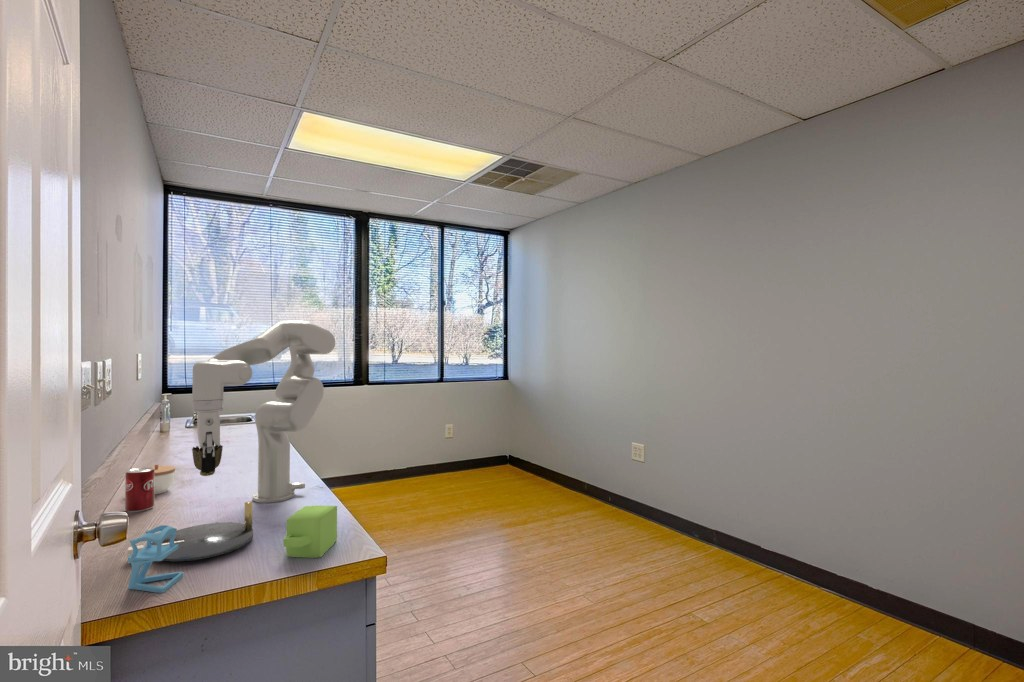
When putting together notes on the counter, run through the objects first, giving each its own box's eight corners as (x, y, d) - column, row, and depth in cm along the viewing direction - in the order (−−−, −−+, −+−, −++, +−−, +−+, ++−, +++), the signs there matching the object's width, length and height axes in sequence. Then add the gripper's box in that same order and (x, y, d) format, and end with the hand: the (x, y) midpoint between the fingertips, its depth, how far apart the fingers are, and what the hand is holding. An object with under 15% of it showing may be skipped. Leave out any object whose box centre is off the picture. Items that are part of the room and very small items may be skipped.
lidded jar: (137, 498, 166) (137, 470, 166) (135, 491, 174) (136, 463, 174) (176, 492, 173) (177, 465, 173) (173, 486, 181) (173, 459, 181)
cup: (200, 479, 138) (200, 450, 138) (186, 475, 142) (186, 447, 142) (227, 474, 144) (228, 445, 144) (214, 470, 148) (214, 442, 148)
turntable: (246, 521, 142) (246, 491, 142) (259, 547, 124) (259, 513, 124) (150, 538, 129) (150, 505, 129) (148, 569, 111) (148, 532, 111)
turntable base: (232, 533, 136) (232, 521, 136) (238, 550, 125) (238, 538, 125) (129, 551, 124) (129, 539, 124) (126, 573, 112) (126, 559, 112)
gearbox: (306, 534, 136) (306, 498, 136) (343, 534, 135) (343, 499, 136) (272, 563, 118) (273, 522, 118) (314, 564, 117) (315, 523, 118)
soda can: (122, 514, 151) (122, 473, 151) (127, 507, 157) (128, 468, 157) (152, 510, 154) (152, 471, 154) (156, 504, 160) (156, 466, 160)
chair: (143, 577, 110) (144, 521, 110) (184, 575, 111) (184, 520, 111) (119, 594, 103) (120, 535, 103) (163, 593, 103) (164, 534, 103)
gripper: (226, 408, 138) (225, 473, 138) (220, 401, 152) (220, 461, 152) (193, 409, 134) (192, 477, 133) (191, 403, 148) (190, 464, 148)
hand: (207, 468), depth 143 cm, fingers closed on cup, 7 cm apart
